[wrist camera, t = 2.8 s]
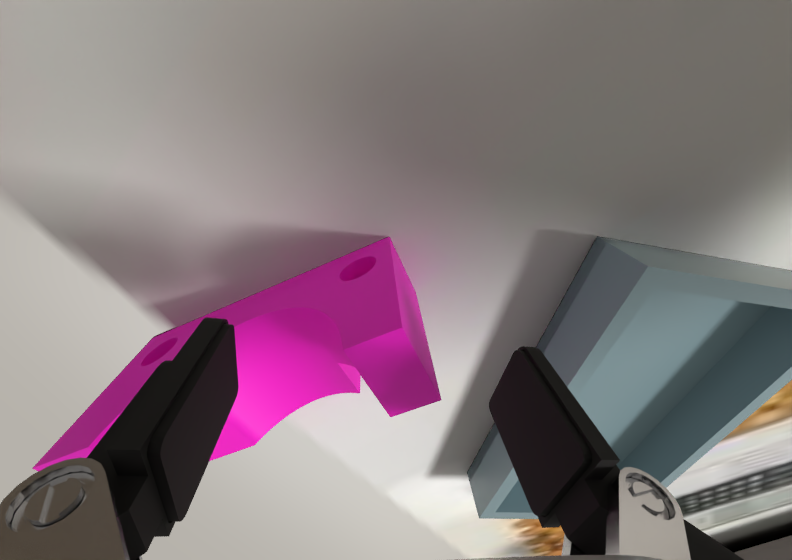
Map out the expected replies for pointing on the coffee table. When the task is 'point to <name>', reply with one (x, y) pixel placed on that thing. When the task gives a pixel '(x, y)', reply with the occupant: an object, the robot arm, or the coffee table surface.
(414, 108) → the coffee table surface
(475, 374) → the coffee table surface
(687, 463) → the slate tray
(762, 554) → the organizer tray
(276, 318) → the toy block
